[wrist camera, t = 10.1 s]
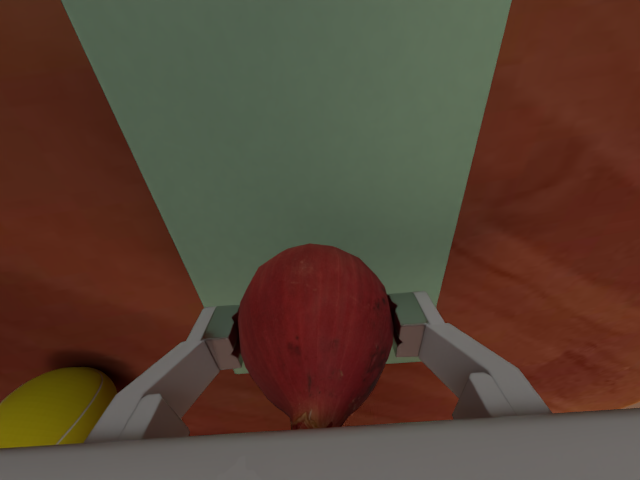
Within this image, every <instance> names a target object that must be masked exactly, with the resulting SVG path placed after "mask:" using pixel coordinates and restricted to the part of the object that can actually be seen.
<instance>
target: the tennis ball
mask: <svg viewBox="0 0 640 480" xmlns="http://www.w3.org/2000/svg"><path fill="white" fill-rule="evenodd" d="M116 394H117V390H116V387H115V385H114V383H113V382H112V380H111V379H110V378H109V377H108V376H107V375H106V374H104V373H103V372H101V371H99V370H97V369H94V368H89V367H67V368H60V369H56V370H53V371H50V372H47V373H45V374H42V375H40V376H38V377H36V378H34V379H32V380H30V381H28V382H26V383H25V384H23V385H22V386H20V387H19V388H17V389H16V390H15V391H13V392H12V393H11V394H10V395H8V396H7V397H6V398H5V399H4V400H3V401H2V402H1V403H0V448H13V447H29V446H45V445H60V444H76V443H84V441H85V440H86V438H87V437H88V435H89V434H90V432H91V431H92V429H93V428H94V426H95V425H96V423H97V422H98V420H99V419H100V417H101V416H102V414H103V413H104V411H105V410H106V408H107V407H108V405H109V404H110V402H111V401H112V400H113V398H114V397H115V395H116Z"/></svg>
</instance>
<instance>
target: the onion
mask: <svg viewBox="0 0 640 480" xmlns="http://www.w3.org/2000/svg"><path fill="white" fill-rule="evenodd" d="M238 326H239V340H240V350H241V356H242V359H243V362H244V364H245V367H246V369H247V370H248V372H249V374H250V375H251V377H252V379H253V380H254V381H255V383H256V384H257V385H258V386H259V388H260V389H261V390H262V392H263V393H264V395H265V396H266V397H267V399H268V400H269V401H270V402H272V403H273V404H274V405H275V406H276V407H277V408H279V409H280V410H281V411H283V412H284V413H285V414H286V415H288V416H289V417H290V421H291V430H297V429H313V428H329V427H341V426H342V425H343V423H344V422H345V421H346V419H347V418H348V416H349V415H351V414H352V413H353V412H354V411H355V410H357V409H358V408H359V407H360V406H361V404H362V403H363V402H364V401H365V400H366V399H367V398H368V396H369V395H370V394H371V392H372V391H373V389H374V388H375V386H376V384H377V382H378V379H379V377H380V375H381V373H382V371H383V369H384V366H385V364H386V362H387V360H388V357H389V354H390V351H391V348H392V345H393V333H394V327H393V322H392V317H391V312H390V307H389V302H388V298H387V293H386V289H385V286H384V285H383V284H382V282H381V281H380V279H379V278H378V277H377V275H376V274H375V273H374V272H373V271H372V270H371V269H370V268H369V267H368V266H367V265H366V264H365V263H364V262H363V261H362V260H361V259H360V258H358V257H356V256H354V255H352V254H350V253H347V252H345V251H343V250H341V249H339V248H337V247H334V246H329V245H320V244H311V243H309V244H305V245H300V246H296V247H292V248H288V249H286V250H284V251H282V252H280V253H279V254H277V255H276V256H274V257H273V258H271V259H270V260H268V261H267V262H266V263H264V264H263V265H261V266H260V267H258V269H257V271H256V273H255V275H254V276H253V278H252V280H251V282H250V284H249V285H248V287H247V289H246V291H245V293H244V296H243V298H242V300H241V302H240V308H239V316H238Z"/></svg>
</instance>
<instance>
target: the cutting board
mask: <svg viewBox="0 0 640 480" xmlns="http://www.w3.org/2000/svg"><path fill="white" fill-rule="evenodd" d="M511 1H512V0H61V2H62V4H63V6H64V8H65V10H66V12H67V14H68V17H69V19H70V21H71V23H72V25H73V27H74V29H75V32H76V34H77V36H78V38H79V40H80V42H81V44H82V47H83V49H84V51H85V53H86V55H87V57H88V59H89V62H90V64H91V66H92V68H93V70H94V72H95V74H96V77H97V79H98V81H99V83H100V85H101V87H102V89H103V92H104V94H105V96H106V98H107V100H108V102H109V104H110V107H111V109H112V111H113V113H114V115H115V117H116V119H117V122H118V124H119V126H120V128H121V130H122V132H123V134H124V137H125V139H126V141H127V143H128V145H129V147H130V149H131V152H132V154H133V156H134V158H135V160H136V162H137V164H138V167H139V169H140V171H141V173H142V175H143V177H144V179H145V182H146V184H147V186H148V188H149V190H150V192H151V194H152V197H153V199H154V201H155V203H156V205H157V207H158V209H159V212H160V214H161V216H162V218H163V220H164V222H165V224H166V227H167V229H168V231H169V233H170V235H171V237H172V239H173V242H174V244H175V246H176V248H177V250H178V252H179V254H180V257H181V259H182V261H183V263H184V265H185V267H186V269H187V272H188V274H189V276H190V278H191V280H192V282H193V284H194V287H195V289H196V291H197V293H198V295H199V297H200V299H201V302H202V304H203V306H204V308H205V307H212V306H228V305H240V302H241V300H242V298H243V296H244V293H245V291H246V289H247V287H248V285H249V284H250V282H251V280H252V278H253V276H254V275H255V273H256V271H257V269H258V267H260V266H261V265H263V264H264V263H266V262H267V261H268V260H270V259H271V258H273V257H274V256H276V255H277V254H279V253H280V252H282V251H284V250H286V249H288V248H292V247H296V246H300V245H305V244H309V243H311V244H320V245H329V246H334V247H337V248H339V249H341V250H343V251H345V252H347V253H350V254H352V255H354V256H356V257H358V258H360V259H361V260H362V261H363V262H364V263H365V264H366V265H367V266H368V267H369V268H370V269H371V270H372V271H373V272H374V273H375V274H376V275H377V277H378V278H379V279H380V281H381V282H382V284H383V285H384V286H385V289H386V293H387V294H393V293H405V292H417V291H425V292H427V294H428V296H429V297H430V299H431V301H432V302H433V304H434V306H435V307H436V305H437V301H438V297H439V293H440V289H441V285H442V281H443V277H444V272H445V268H446V264H447V260H448V256H449V252H450V248H451V244H452V240H453V236H454V232H455V228H456V224H457V220H458V216H459V212H460V208H461V204H462V200H463V196H464V191H465V187H466V183H467V179H468V175H469V171H470V167H471V163H472V159H473V155H474V151H475V147H476V143H477V139H478V135H479V131H480V127H481V123H482V119H483V115H484V110H485V106H486V102H487V98H488V94H489V90H490V86H491V82H492V78H493V74H494V70H495V66H496V62H497V58H498V54H499V50H500V46H501V42H502V38H503V34H504V30H505V25H506V21H507V17H508V13H509V9H510V5H511ZM420 361H421V360H420V359H419V358H418V357H396V356H395V352H394V349H393V346H392V348H391V351H390V354H389V357H388V360H387V362H386V364H390V363H405V362H420ZM233 370H234V372H235V374H243V373H249V372H248V370H247V369H246V367H245V364H244V362H243V363H242V367H241V368H236V369H233Z"/></svg>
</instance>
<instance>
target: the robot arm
mask: <svg viewBox="0 0 640 480" xmlns="http://www.w3.org/2000/svg"><path fill="white" fill-rule="evenodd" d="M387 298H388V302H389V307H390V312H391V317H392V322H393V327H394V333H393V345H392V346H393V349H394V352H395V356H396V357H418V358H419V359H420V360H421V361H422V362H423V363H424V364H425V365H426V366H427V367H428V368H429V369H430V370H431V371H432V372H433V373H434V374H435V375H436V376H437V377H438V378H439V379H440V380H441V381H442V382H443V383H444V384H445V385H446V386H447V387H448V388H449V389H450V390H451V391H452V392H453V393H454V394H455V395H456V396H457V397H458V398H459V400H458V403H457V405H456V407H455V409H454V412H453V414H452V416H453V419H454V420H441V421H425V422H409V423H393V424H377V425H361V426H345V427H329V428H313V429H297V430H281V431H265V432H250V433H234V434H218V435H202V436H189V433H190V431H189V429H188V427H187V426H186V425H185V423H184V422H183V421H182V420H181V418H182V416H183V415H184V414H185V413H186V412H187V410H188V409H189V408H190V407H191V405H192V404H193V403H194V402H195V401H196V399H197V398H198V397H199V396H200V395H201V393H202V392H203V391H204V390H205V389H206V387H207V386H208V385H209V384H210V382H211V381H212V380H213V379H214V378H215V376H216V375H217V374H218V373H219V372H220V371H219V370H225V369H236V368H241V367H242V363H243V359H242V356H241V350H240V340H239V326H238V316H239V308H240V305H228V306H212V307H205V308H204V309H203V310H202V312H201V313H200V315H199V317H198V319H197V321H196V323H195V325H194V327H193V329H192V330H191V332H190V334H189V336H188V338H187V340H186V342H181V343H180V344H179V345H177V346H176V347H175V348H174V349H172V350H171V351H170V352H169V353H167V354H166V355H165V356H164V357H162V358H161V359H160V360H159V361H157V362H156V363H155V364H154V365H152V366H151V367H150V368H149V369H147V370H146V371H145V372H144V373H142V374H141V375H140V376H139V377H137V378H136V379H135V380H134V381H132V382H131V383H130V384H129V385H127V386H126V387H125V388H124V389H122V390H121V391H120V392H119V393H117V394H116V395H115V397H114V398H113V400H112V401H111V402H110V404H109V405H108V407H107V408H106V410H105V411H104V413H103V414H102V416H101V417H100V419H99V420H98V422H97V423H96V425H95V426H94V428H93V429H92V431H91V432H90V434H89V435H88V437H87V438H86V440H85V441H84V443H76V444H60V445H45V446H29V447H13V448H0V480H640V408H631V409H614V410H599V411H583V412H567V413H552V412H551V411H550V409H549V408H548V407H547V406H546V404H545V403H544V402H543V400H542V399H541V398H540V396H539V395H538V394H537V392H536V391H535V390H534V388H533V387H532V386H531V384H530V383H529V382H528V380H527V379H526V378H525V377H524V375H523V374H522V373H521V371H520V370H519V369H518V368H517V367H515V366H514V365H512V364H511V363H509V362H508V361H506V360H504V359H503V358H501V357H500V356H498V355H497V354H495V353H494V352H492V351H491V350H489V349H488V348H486V347H485V346H483V345H482V344H480V343H479V342H477V341H476V340H474V339H472V338H471V337H469V336H468V335H466V334H465V333H463V332H462V331H460V330H459V329H457V328H456V327H454V326H453V325H451V324H450V323H445V322H444V321H443V319H442V317H441V316H440V314H439V312H438V311H437V309H436V307H435V306H434V304H433V302H432V301H431V299H430V297H429V296H428V294H427V292H425V291H417V292H405V293H393V294H387Z"/></svg>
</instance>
